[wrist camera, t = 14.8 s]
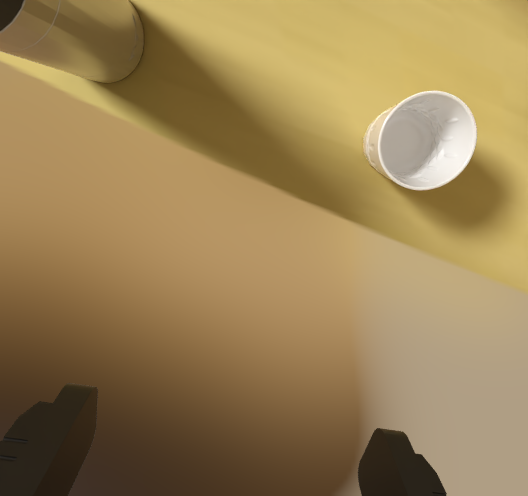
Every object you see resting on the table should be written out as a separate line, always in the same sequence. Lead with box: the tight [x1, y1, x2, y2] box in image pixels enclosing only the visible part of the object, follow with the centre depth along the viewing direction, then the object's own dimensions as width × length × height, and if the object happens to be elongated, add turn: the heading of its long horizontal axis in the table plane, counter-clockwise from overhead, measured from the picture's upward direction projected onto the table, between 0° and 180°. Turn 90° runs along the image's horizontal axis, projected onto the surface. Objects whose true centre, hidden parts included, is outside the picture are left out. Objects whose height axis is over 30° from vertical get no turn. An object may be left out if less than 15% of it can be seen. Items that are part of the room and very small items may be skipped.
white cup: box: [363, 91, 477, 190], centre depth 34 cm, size 8×8×10 cm
